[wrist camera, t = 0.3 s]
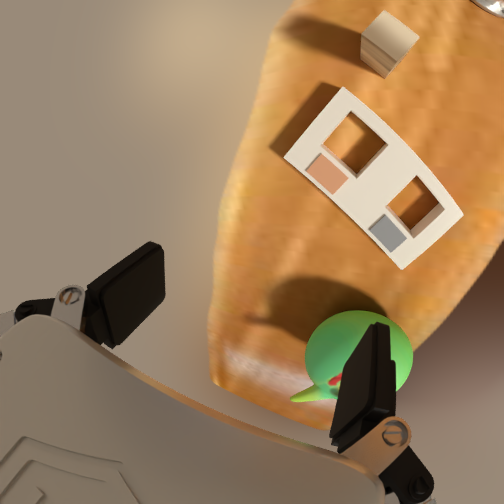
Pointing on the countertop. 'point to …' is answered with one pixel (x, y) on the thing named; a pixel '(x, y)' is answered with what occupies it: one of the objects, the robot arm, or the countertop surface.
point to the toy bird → (347, 352)
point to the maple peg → (386, 43)
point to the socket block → (373, 181)
